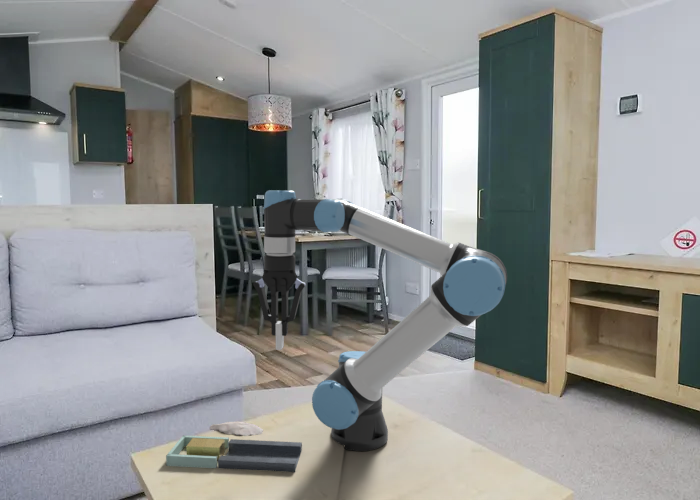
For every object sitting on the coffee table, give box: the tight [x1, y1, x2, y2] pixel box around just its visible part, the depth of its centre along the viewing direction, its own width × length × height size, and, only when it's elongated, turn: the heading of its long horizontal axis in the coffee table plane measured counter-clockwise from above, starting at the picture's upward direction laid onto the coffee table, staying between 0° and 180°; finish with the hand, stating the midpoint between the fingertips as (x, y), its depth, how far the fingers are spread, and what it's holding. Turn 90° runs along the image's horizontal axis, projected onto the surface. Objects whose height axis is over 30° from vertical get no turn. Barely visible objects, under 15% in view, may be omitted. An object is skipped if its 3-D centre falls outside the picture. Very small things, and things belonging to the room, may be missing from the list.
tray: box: [165, 435, 230, 469], centre depth 122 cm, size 12×10×3 cm
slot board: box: [217, 438, 303, 473], centre depth 121 cm, size 18×10×3 cm, turn 86°
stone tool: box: [209, 421, 264, 437], centre depth 136 cm, size 8×3×15 cm
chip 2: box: [203, 439, 226, 462], centre depth 121 cm, size 4×4×4 cm
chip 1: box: [185, 438, 208, 456], centre depth 122 cm, size 4×4×4 cm
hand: (279, 347), depth 125 cm, fingers closed
